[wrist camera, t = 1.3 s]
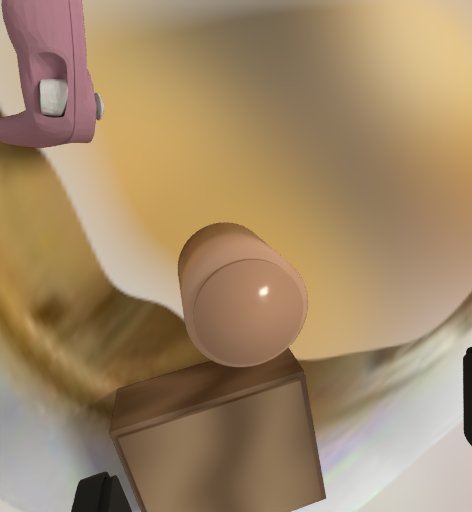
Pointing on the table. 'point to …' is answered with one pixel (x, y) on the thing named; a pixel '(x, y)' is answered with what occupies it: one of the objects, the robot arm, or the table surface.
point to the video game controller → (50, 75)
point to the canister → (239, 296)
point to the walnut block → (220, 439)
